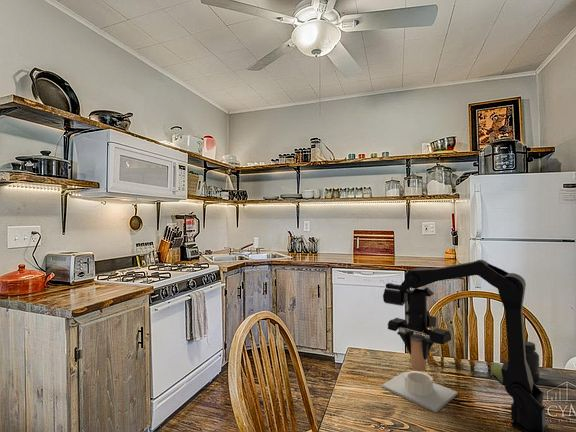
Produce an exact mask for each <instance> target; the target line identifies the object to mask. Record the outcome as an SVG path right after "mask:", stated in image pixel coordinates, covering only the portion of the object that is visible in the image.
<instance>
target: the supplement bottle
mask: <svg viewBox="0 0 576 432" xmlns="http://www.w3.org/2000/svg"><path fill="white" fill-rule="evenodd" d="M525 352H526V361H527V363H528V366H529V368H530V371H531V375H532V378H533V382H534V384H535V383H538V382H540V379H541V378H540V375H541V374H540V355H539V353H538V352H537V349H536V343H534V342H531V341H527V340H525Z"/></svg>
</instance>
